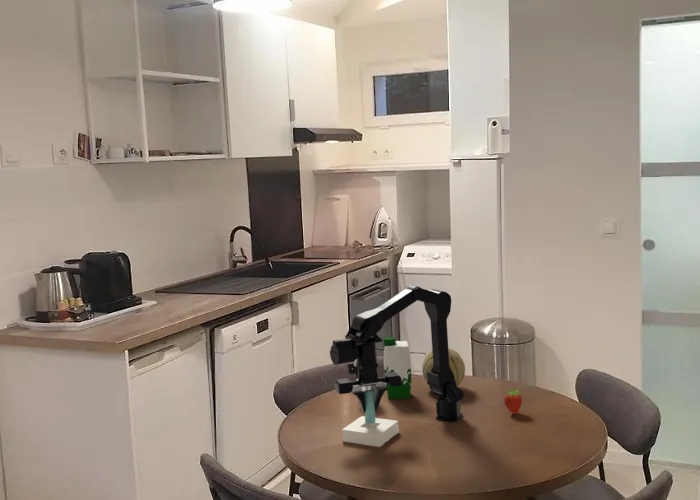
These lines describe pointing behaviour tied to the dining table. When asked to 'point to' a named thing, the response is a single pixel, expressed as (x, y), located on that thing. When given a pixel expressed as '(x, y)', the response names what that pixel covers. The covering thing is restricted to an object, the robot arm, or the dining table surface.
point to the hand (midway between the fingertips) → (369, 411)
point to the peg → (369, 406)
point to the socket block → (370, 431)
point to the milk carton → (397, 366)
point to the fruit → (513, 401)
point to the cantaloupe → (454, 362)
